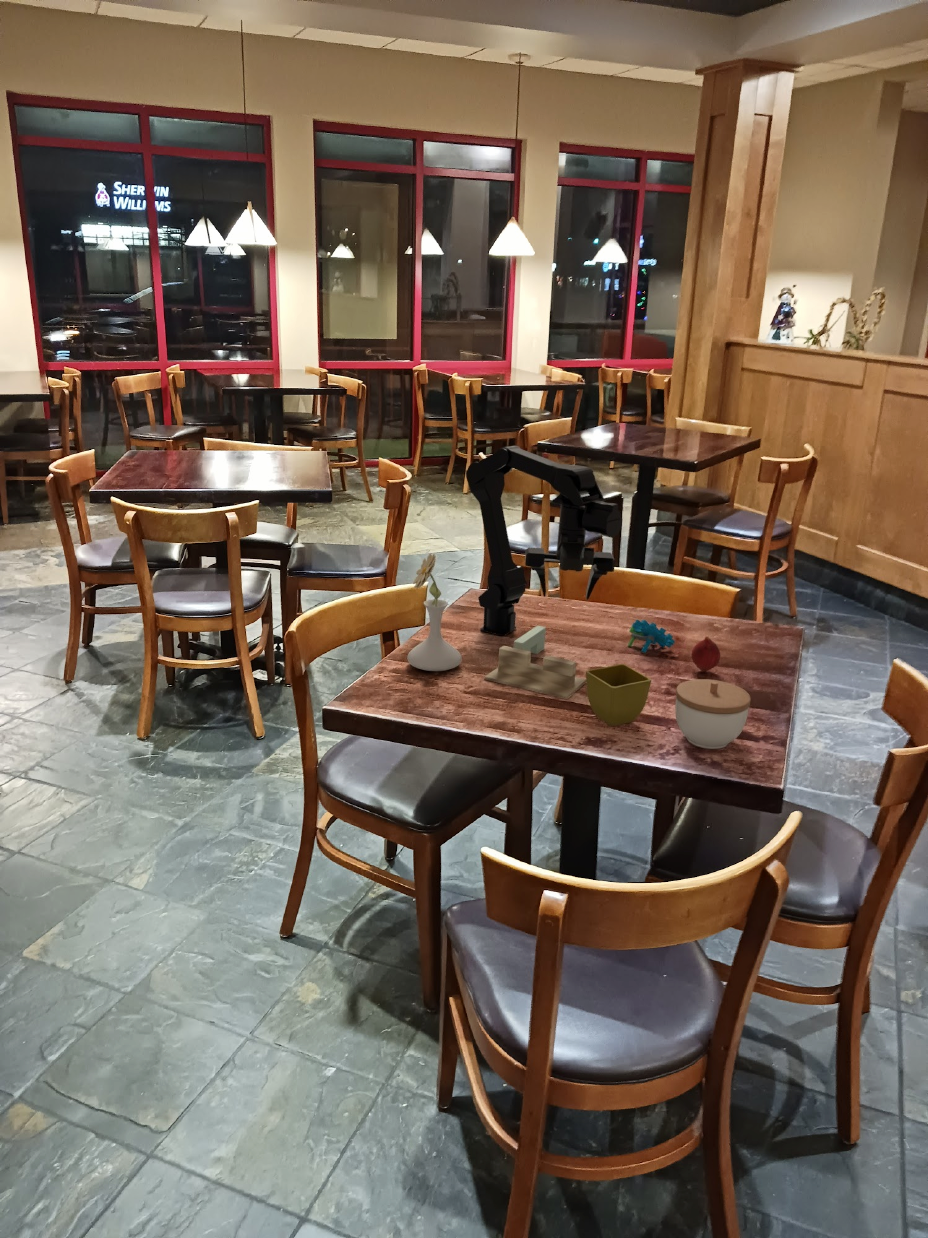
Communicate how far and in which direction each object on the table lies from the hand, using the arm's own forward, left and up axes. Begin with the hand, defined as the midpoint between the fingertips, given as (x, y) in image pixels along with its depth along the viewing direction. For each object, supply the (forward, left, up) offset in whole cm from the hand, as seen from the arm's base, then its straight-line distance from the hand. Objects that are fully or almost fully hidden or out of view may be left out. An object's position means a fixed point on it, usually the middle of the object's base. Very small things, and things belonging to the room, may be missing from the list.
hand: (565, 597), depth 198 cm
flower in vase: (-19, -24, -13) cm, 33 cm away
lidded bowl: (+39, -27, -13) cm, 49 cm away
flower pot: (+22, -28, -13) cm, 37 cm away
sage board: (-5, -7, -12) cm, 15 cm away
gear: (+16, +12, -13) cm, 24 cm away
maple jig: (+2, -19, -12) cm, 22 cm away
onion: (+30, +5, -13) cm, 33 cm away
